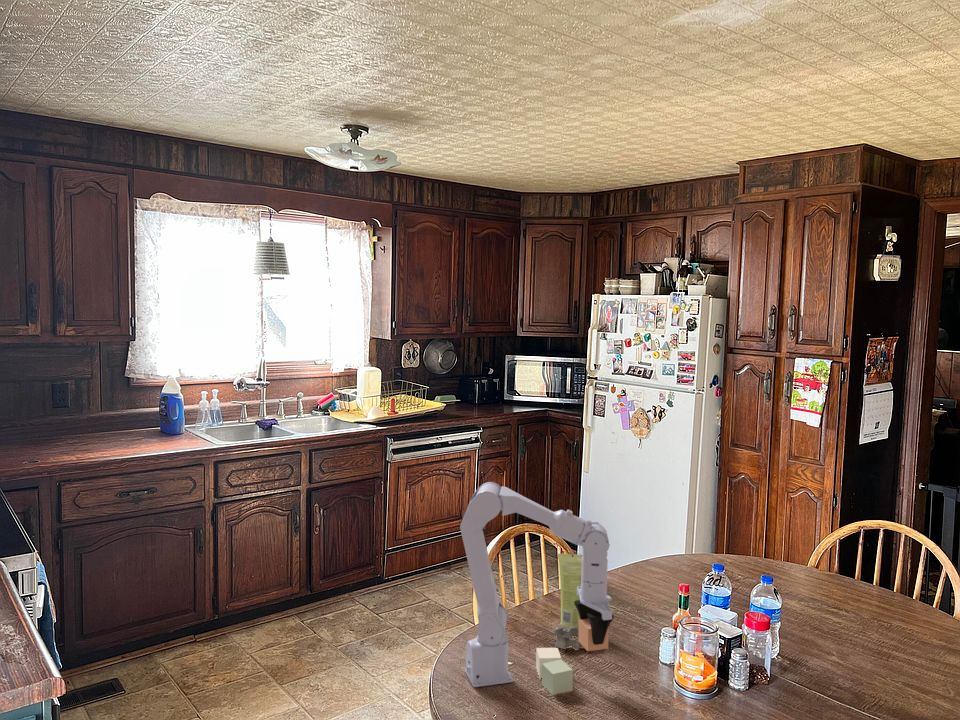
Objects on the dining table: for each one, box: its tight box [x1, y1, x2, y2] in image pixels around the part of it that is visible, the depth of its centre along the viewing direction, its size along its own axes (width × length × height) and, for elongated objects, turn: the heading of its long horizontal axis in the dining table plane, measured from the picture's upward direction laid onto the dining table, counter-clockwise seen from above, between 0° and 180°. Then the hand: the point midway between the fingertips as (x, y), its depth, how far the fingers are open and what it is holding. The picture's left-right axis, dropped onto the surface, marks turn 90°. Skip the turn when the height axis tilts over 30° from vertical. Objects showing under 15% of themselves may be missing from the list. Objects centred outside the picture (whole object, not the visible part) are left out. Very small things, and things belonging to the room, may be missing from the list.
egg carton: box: [553, 625, 583, 650], centre depth 182 cm, size 11×8×4 cm
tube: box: [557, 553, 583, 627], centre depth 192 cm, size 6×5×20 cm
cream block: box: [535, 647, 562, 679], centre depth 167 cm, size 5×5×5 cm
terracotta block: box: [578, 619, 610, 652], centre depth 162 cm, size 5×5×5 cm
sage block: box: [541, 659, 574, 696], centre depth 160 cm, size 5×5×5 cm
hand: (592, 638), depth 162 cm, fingers closed on terracotta block, 5 cm apart
